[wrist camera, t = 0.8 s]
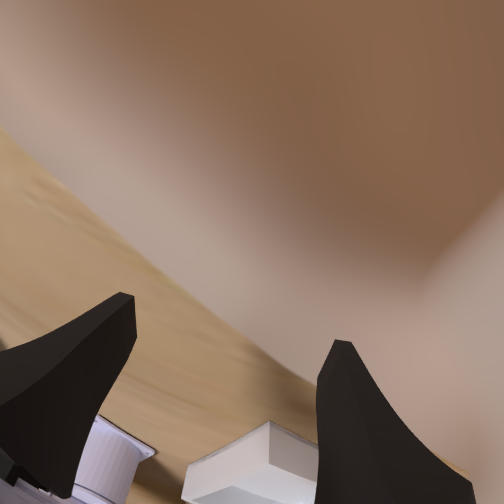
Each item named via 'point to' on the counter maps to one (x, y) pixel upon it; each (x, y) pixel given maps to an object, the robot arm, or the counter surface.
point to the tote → (256, 470)
